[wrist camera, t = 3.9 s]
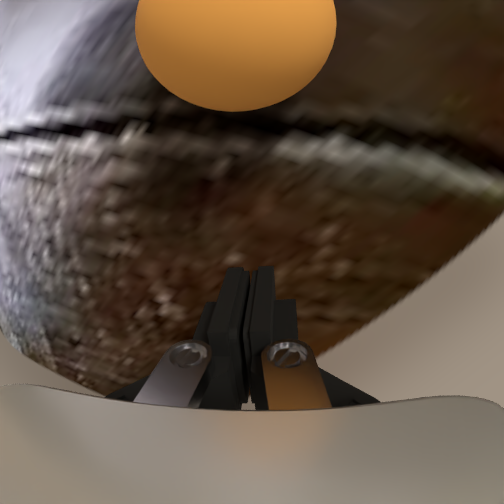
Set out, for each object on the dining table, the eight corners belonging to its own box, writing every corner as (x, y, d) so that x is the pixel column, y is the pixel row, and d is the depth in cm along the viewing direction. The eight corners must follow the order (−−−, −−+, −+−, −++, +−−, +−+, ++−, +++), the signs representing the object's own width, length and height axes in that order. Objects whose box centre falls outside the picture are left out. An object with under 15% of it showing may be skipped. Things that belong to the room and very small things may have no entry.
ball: (314, -24, 9) (333, -103, 4) (329, 109, 11) (370, 102, 6) (168, -7, 10) (100, -66, 4) (178, 121, 12) (103, 130, 7)
